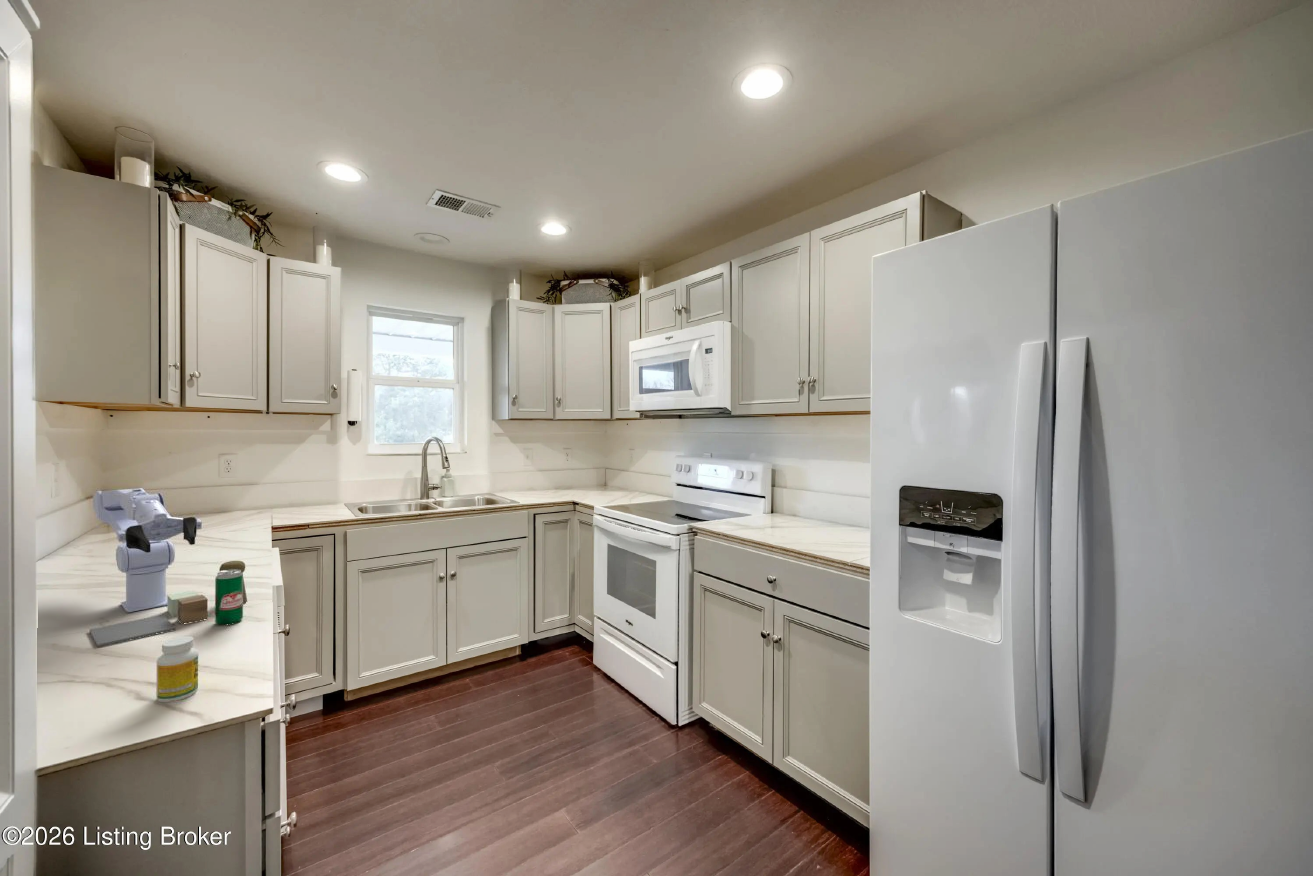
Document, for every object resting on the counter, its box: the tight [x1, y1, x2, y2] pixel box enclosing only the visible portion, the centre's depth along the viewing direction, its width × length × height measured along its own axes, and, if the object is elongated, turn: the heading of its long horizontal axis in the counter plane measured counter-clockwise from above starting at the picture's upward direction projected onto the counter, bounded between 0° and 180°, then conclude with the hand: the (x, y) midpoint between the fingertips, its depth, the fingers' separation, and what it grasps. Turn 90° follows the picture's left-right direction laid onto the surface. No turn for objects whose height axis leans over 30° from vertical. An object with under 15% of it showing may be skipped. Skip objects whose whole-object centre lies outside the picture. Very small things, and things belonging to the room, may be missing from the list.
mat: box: [89, 614, 176, 648], centre depth 116 cm, size 12×12×1 cm
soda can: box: [214, 569, 244, 626], centre depth 123 cm, size 5×5×12 cm
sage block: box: [166, 590, 200, 616], centre depth 129 cm, size 5×5×4 cm
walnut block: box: [177, 594, 209, 625], centre depth 124 cm, size 4×4×5 cm
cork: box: [218, 560, 248, 605], centre depth 134 cm, size 6×6×11 cm
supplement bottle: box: [155, 636, 199, 703], centre depth 91 cm, size 5×5×10 cm
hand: (171, 544), depth 120 cm, fingers open, 7 cm apart
